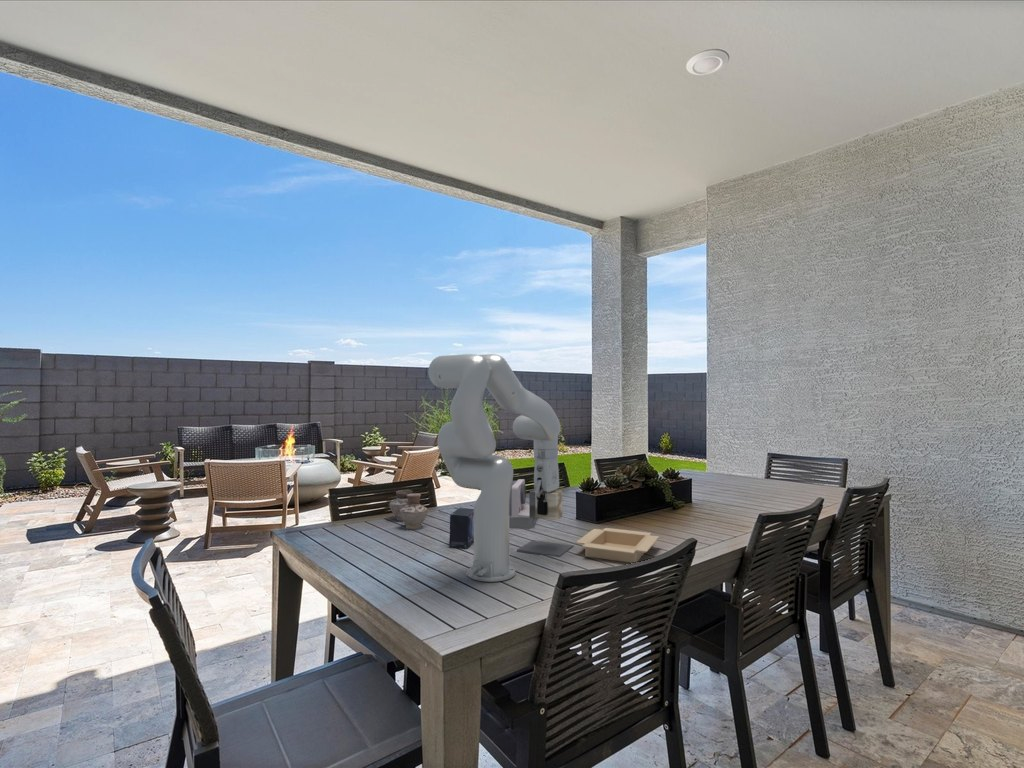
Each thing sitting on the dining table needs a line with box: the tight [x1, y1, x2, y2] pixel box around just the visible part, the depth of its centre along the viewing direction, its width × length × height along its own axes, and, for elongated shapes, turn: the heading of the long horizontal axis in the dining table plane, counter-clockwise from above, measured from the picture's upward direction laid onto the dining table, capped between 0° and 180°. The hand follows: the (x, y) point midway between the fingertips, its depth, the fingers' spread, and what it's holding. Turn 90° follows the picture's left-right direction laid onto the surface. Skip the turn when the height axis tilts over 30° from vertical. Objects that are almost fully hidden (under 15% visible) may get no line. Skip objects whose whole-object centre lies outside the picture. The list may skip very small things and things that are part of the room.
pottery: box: [389, 489, 428, 530], centre depth 200 cm, size 11×25×12 cm, turn 25°
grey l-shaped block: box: [509, 478, 538, 530], centre depth 203 cm, size 21×21×15 cm
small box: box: [448, 507, 474, 549], centre depth 172 cm, size 11×6×10 cm, turn 168°
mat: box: [516, 539, 575, 558], centre depth 166 cm, size 12×14×1 cm
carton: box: [575, 527, 660, 564], centre depth 163 cm, size 24×21×4 cm
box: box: [529, 489, 563, 521], centre depth 167 cm, size 5×9×8 cm, turn 64°
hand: (546, 512), depth 167 cm, fingers closed on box, 5 cm apart
